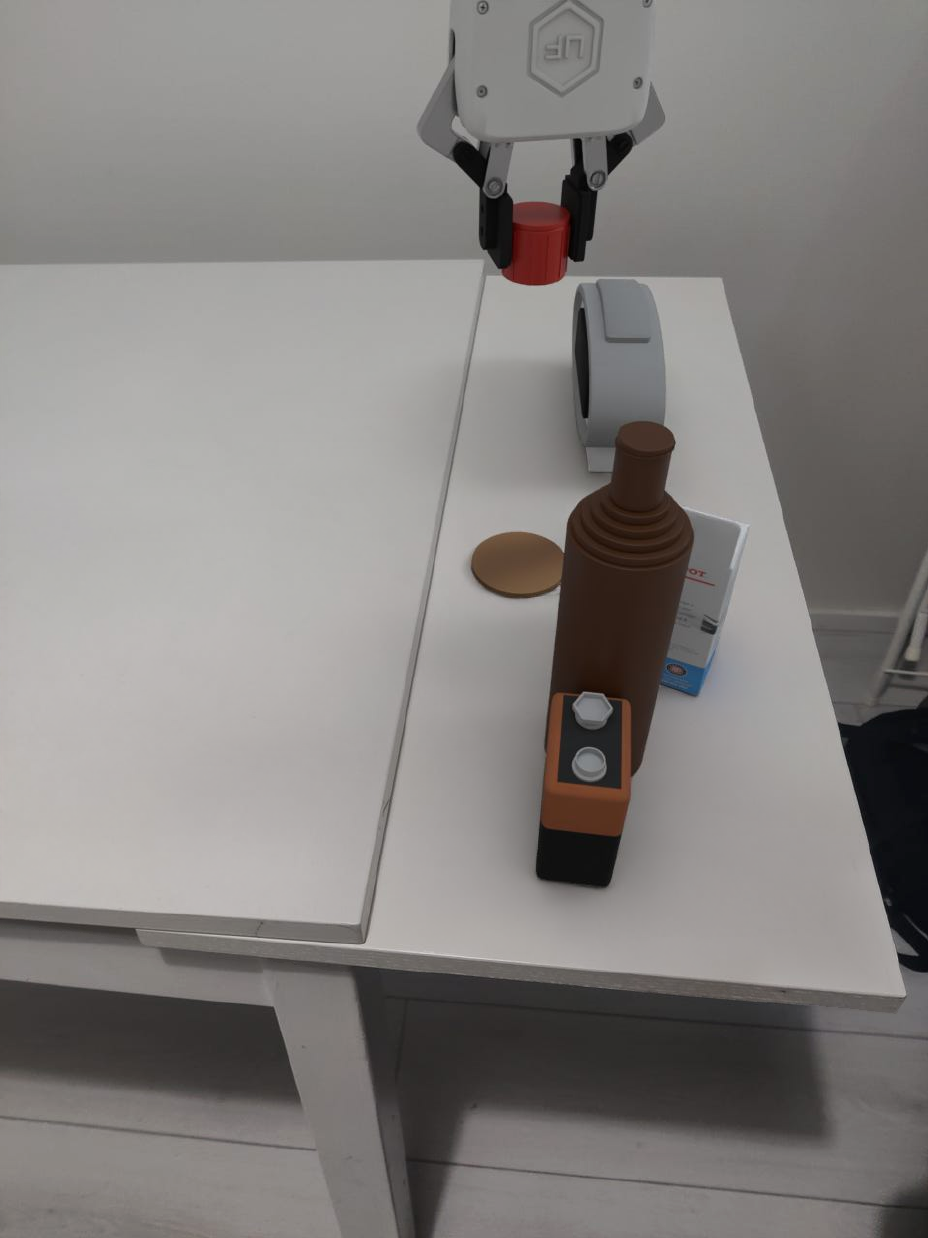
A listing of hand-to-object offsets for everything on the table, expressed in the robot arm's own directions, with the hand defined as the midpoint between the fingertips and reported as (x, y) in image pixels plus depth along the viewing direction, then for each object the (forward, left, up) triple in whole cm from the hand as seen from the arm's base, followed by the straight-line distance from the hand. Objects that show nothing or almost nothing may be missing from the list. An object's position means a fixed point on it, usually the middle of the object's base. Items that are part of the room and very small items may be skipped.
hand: (534, 253), depth 53 cm
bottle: (-16, +9, -25) cm, 31 cm away
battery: (-20, +15, -25) cm, 35 cm away
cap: (0, 0, -1) cm, 1 cm away
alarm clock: (+9, -22, -25) cm, 34 cm away
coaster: (0, 0, -25) cm, 25 cm away
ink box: (-13, 0, -25) cm, 28 cm away
